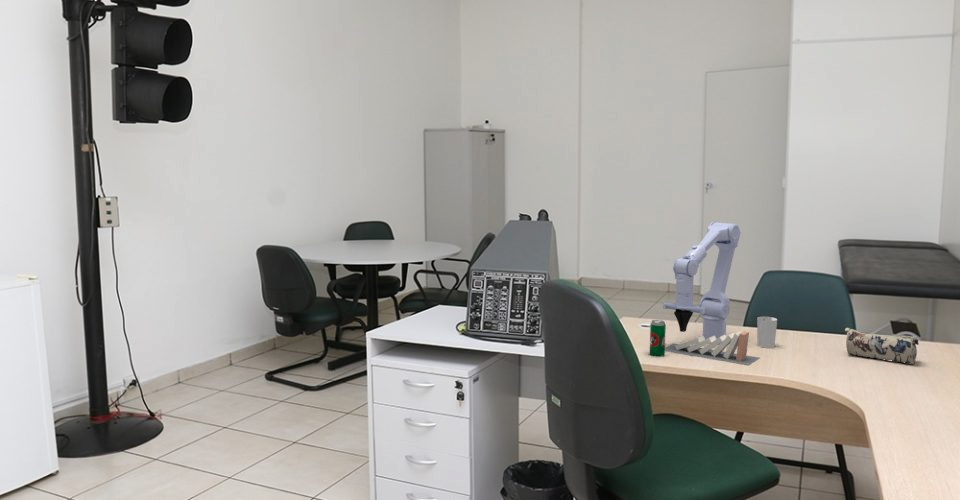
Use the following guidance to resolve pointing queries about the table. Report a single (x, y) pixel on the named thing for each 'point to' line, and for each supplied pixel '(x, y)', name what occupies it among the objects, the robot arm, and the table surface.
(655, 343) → the soda can
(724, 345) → the domino
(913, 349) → the pencil case
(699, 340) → the domino
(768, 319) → the drinking glass
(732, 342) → the domino
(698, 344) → the domino
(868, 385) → the table surface
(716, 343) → the domino
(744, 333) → the domino
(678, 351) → the felt mat
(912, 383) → the table surface
